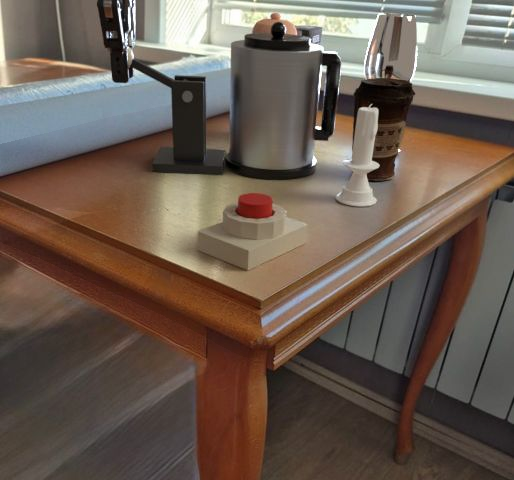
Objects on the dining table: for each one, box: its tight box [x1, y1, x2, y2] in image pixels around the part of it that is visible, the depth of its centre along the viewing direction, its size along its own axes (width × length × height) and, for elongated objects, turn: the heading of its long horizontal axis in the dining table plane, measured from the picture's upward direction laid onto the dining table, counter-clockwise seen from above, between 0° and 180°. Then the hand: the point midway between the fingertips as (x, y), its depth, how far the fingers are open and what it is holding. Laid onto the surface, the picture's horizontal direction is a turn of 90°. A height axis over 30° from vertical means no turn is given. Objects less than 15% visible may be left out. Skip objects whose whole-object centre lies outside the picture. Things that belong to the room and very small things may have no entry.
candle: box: [335, 104, 380, 208], centre depth 77 cm, size 5×5×12 cm
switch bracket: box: [151, 74, 226, 176], centre depth 87 cm, size 10×9×12 cm
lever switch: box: [127, 47, 188, 89], centre depth 84 cm, size 13×3×3 cm, turn 90°
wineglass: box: [363, 12, 418, 155], centre depth 96 cm, size 8×8×20 cm
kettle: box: [225, 22, 342, 181], centre depth 86 cm, size 16×14×19 cm
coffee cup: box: [350, 78, 416, 181], centre depth 86 cm, size 9×8×13 cm
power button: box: [237, 192, 274, 219], centre depth 63 cm, size 4×4×2 cm
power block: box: [197, 201, 309, 272], centre depth 65 cm, size 10×7×4 cm
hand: (123, 79), depth 84 cm, fingers closed on lever switch, 3 cm apart
